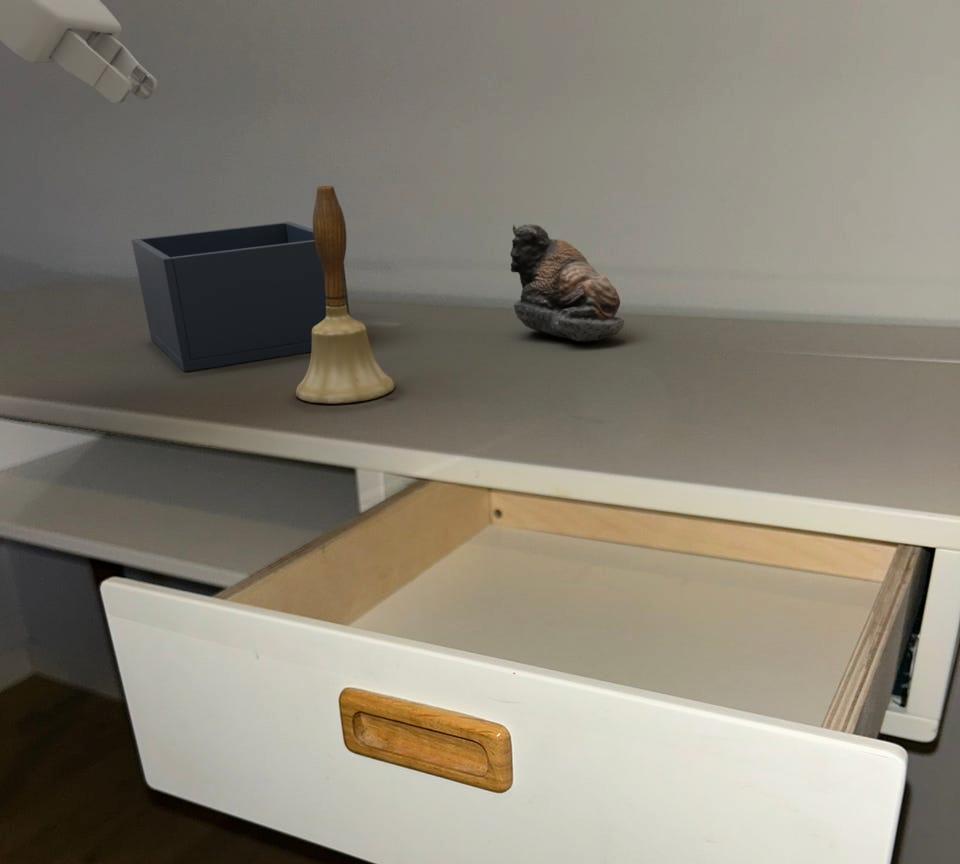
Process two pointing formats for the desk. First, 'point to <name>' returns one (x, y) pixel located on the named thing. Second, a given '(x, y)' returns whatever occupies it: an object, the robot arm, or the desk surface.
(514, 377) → the desk surface
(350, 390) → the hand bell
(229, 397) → the desk surface
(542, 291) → the bison figurine
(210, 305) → the bin
